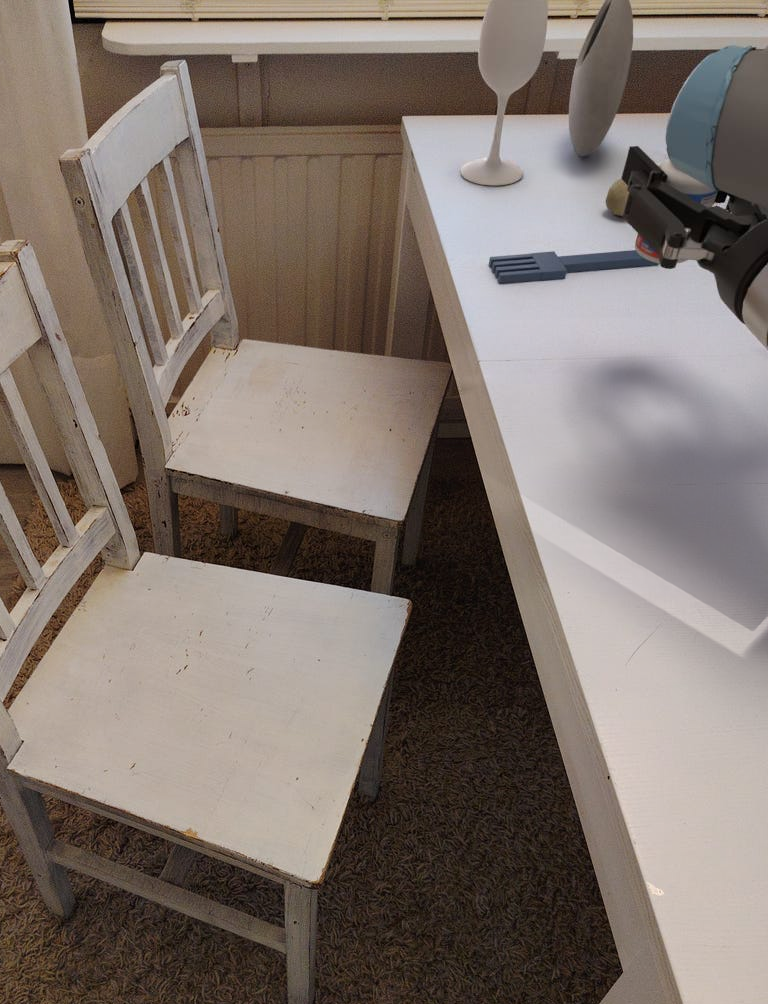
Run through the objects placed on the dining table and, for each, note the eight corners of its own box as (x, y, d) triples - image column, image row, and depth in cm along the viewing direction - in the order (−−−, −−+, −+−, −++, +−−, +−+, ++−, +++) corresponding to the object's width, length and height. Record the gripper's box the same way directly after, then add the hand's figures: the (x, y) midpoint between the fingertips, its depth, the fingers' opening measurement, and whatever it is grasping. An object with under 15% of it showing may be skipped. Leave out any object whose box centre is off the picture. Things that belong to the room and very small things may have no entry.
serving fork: (647, 251, 101) (650, 243, 100) (663, 270, 98) (666, 261, 97) (488, 264, 100) (489, 256, 99) (499, 284, 97) (500, 275, 96)
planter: (561, 126, 126) (593, -28, 112) (609, 129, 125) (648, -26, 110) (553, 175, 115) (588, 12, 101) (605, 179, 114) (648, 14, 99)
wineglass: (508, 157, 119) (539, -24, 103) (532, 182, 114) (568, -6, 98) (452, 164, 118) (473, -18, 102) (473, 189, 113) (499, 1, 97)
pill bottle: (621, 252, 77) (654, 137, 69) (653, 232, 79) (688, 119, 71) (674, 272, 74) (715, 154, 66) (705, 251, 76) (748, 135, 69)
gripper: (653, 343, 63) (554, 210, 77) (882, 321, 64) (741, 194, 79) (688, 245, 57) (573, 121, 72) (938, 222, 58) (775, 105, 73)
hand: (661, 159), depth 75 cm, fingers closed on pill bottle, 5 cm apart
